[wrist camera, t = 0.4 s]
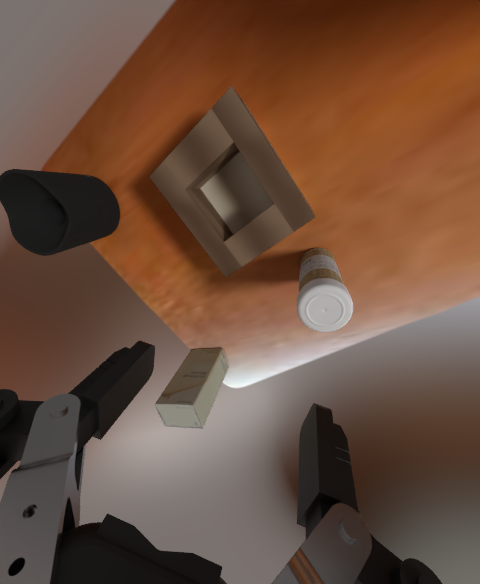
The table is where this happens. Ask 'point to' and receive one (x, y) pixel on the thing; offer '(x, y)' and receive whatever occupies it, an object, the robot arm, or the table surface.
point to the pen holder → (57, 209)
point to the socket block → (231, 186)
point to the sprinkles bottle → (322, 292)
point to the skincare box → (193, 389)
